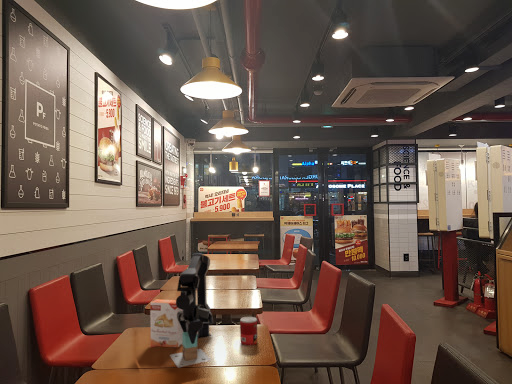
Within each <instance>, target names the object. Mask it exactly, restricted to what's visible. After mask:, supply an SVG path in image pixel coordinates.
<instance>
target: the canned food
mask: <svg viewBox="0 0 512 384" xmlns="http://www.w3.org/2000/svg"><path fill="white" fill-rule="evenodd" d="M239 322H240V323H239V327H240V328H239V329H240V331H239V332H240V333H239V334H240V336H239V337H240V344H241V345H243V346H254V345H256V344H257V343H258V319H257V317H254V316H244V317H243V316H242V317H241V318H240V320H239Z"/></svg>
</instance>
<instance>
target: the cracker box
mask: <svg viewBox="0 0 512 384" xmlns="http://www.w3.org/2000/svg"><path fill="white" fill-rule="evenodd" d="M149 305H150V311H149V313H150V314H149V315H150V348H154V347H166V348H167V347H168V348H169V347H170V348H179V347H180V346H182V333H183V330H182V328H181V326H180V323H179V321H178V319H177V313H178V312H179V311H182V309H179V308H178V307H177V305H176V299H161V298H160V299H158V298H156V299H154V300H152V301H150V304H149Z"/></svg>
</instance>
